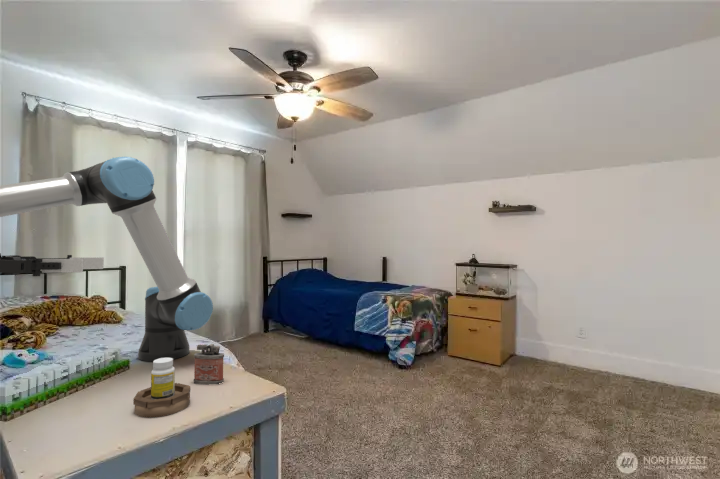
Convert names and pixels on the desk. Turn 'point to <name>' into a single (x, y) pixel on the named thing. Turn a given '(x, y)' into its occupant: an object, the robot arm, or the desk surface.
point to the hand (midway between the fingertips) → (93, 264)
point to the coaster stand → (161, 402)
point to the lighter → (208, 365)
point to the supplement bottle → (162, 379)
